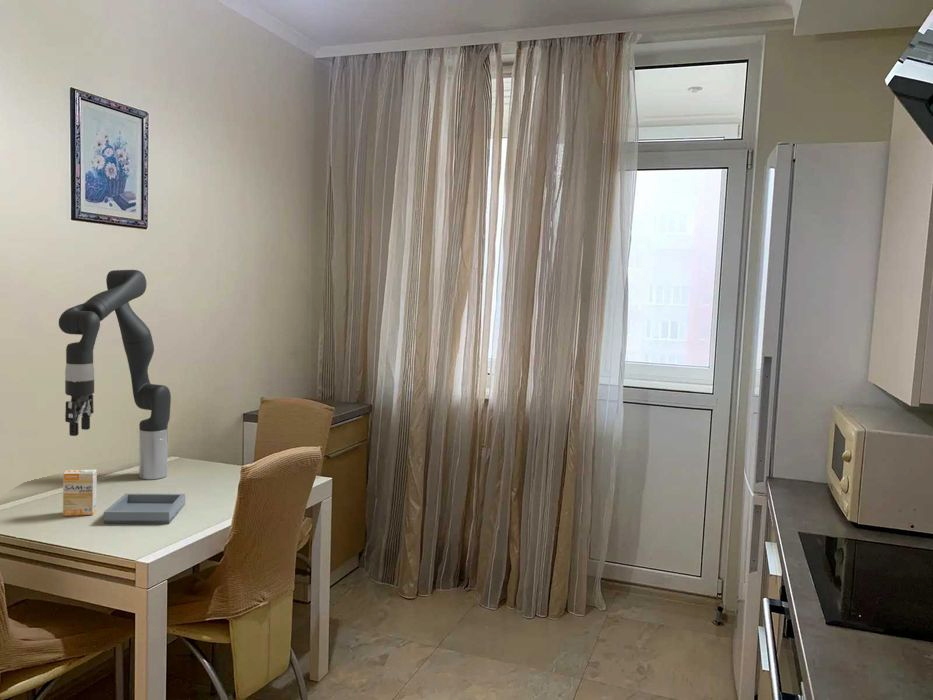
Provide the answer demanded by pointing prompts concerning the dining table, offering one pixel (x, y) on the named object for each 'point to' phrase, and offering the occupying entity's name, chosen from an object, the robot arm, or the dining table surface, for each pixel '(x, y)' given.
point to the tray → (144, 509)
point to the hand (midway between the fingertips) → (79, 432)
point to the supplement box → (79, 492)
